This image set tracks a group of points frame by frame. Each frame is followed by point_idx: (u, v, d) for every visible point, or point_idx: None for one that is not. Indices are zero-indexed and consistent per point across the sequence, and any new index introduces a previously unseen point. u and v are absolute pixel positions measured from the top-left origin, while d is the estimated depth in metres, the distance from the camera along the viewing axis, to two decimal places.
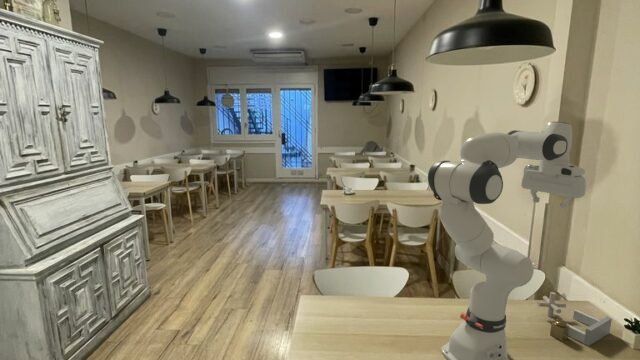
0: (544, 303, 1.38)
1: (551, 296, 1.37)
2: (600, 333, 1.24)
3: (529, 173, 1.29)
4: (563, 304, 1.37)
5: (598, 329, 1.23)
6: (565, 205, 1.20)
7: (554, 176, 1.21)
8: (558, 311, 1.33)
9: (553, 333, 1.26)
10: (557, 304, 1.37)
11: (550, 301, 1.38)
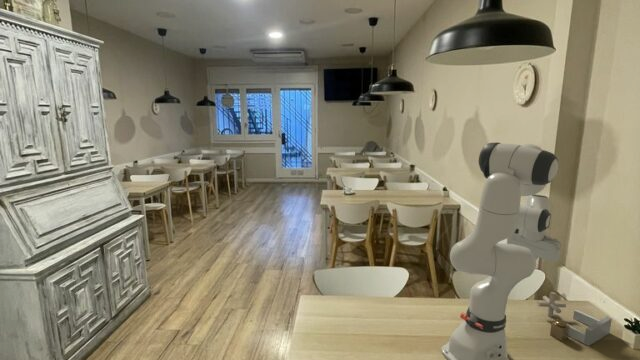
0: (544, 303, 1.38)
1: (551, 296, 1.37)
2: (600, 333, 1.24)
3: None
4: (563, 304, 1.37)
5: (598, 329, 1.23)
6: None
7: None
8: (558, 311, 1.33)
9: (553, 333, 1.26)
10: (557, 304, 1.37)
11: (550, 301, 1.38)
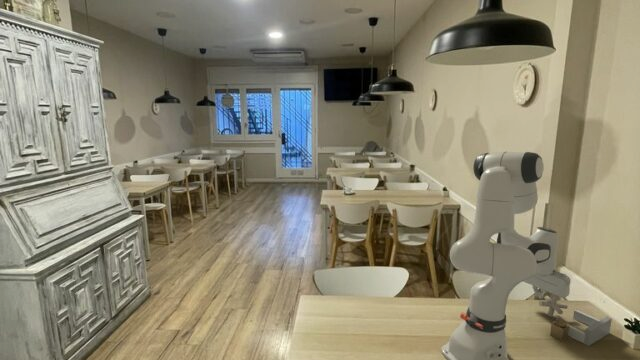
0: (546, 303, 1.38)
1: (554, 297, 1.37)
2: (600, 333, 1.24)
3: None
4: (565, 305, 1.37)
5: (598, 329, 1.23)
6: None
7: None
8: (560, 312, 1.33)
9: (553, 333, 1.26)
10: (559, 305, 1.37)
11: (552, 301, 1.37)
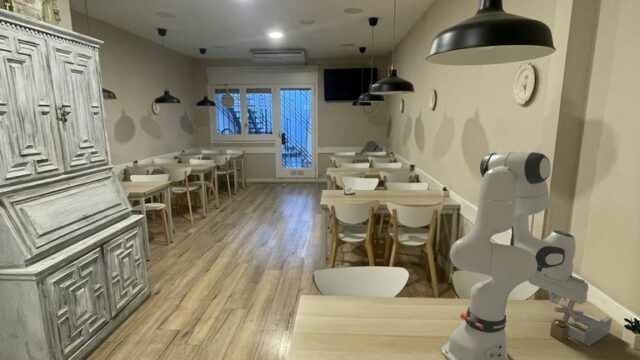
0: (562, 309, 1.33)
1: (570, 303, 1.32)
2: (600, 333, 1.24)
3: None
4: (581, 312, 1.33)
5: (598, 329, 1.23)
6: None
7: None
8: (576, 319, 1.29)
9: (553, 333, 1.26)
10: (575, 311, 1.33)
11: (568, 308, 1.33)
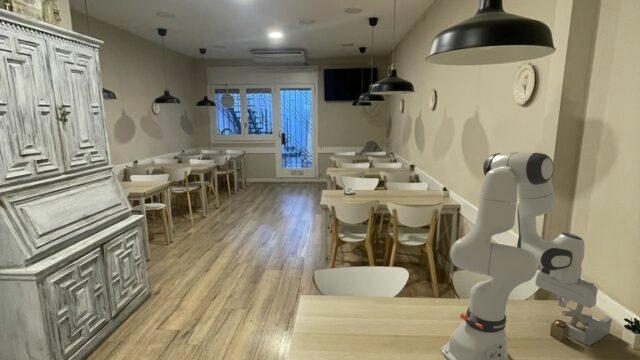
0: (570, 313, 1.30)
1: (579, 307, 1.29)
2: (600, 333, 1.24)
3: None
4: (589, 316, 1.30)
5: (598, 329, 1.23)
6: None
7: None
8: (585, 324, 1.26)
9: (553, 333, 1.26)
10: (583, 315, 1.30)
11: (576, 311, 1.30)
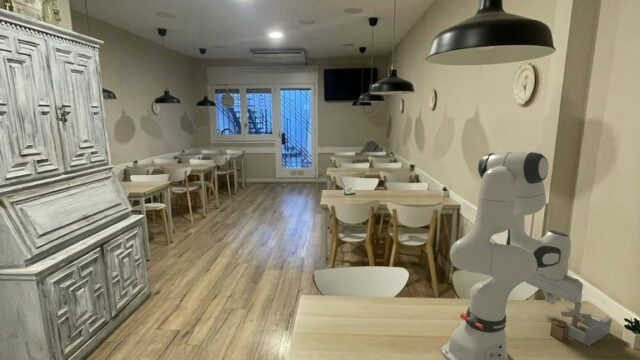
0: (568, 313, 1.31)
1: (576, 306, 1.30)
2: (600, 333, 1.24)
3: None
4: (588, 315, 1.30)
5: (598, 329, 1.23)
6: None
7: None
8: (584, 322, 1.26)
9: (553, 333, 1.26)
10: (582, 314, 1.30)
11: (575, 311, 1.31)
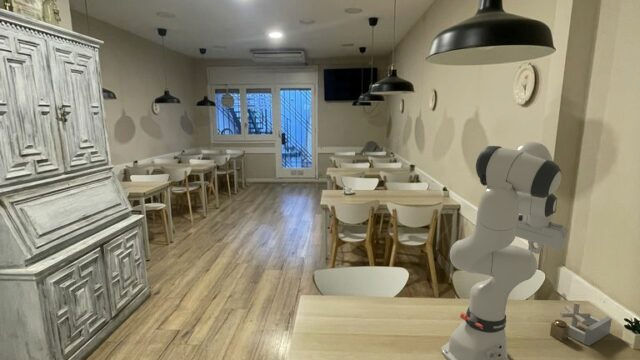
0: (568, 314, 1.31)
1: (575, 306, 1.30)
2: (600, 333, 1.24)
3: None
4: (587, 314, 1.30)
5: (598, 329, 1.23)
6: None
7: None
8: (584, 322, 1.26)
9: (553, 333, 1.26)
10: (581, 314, 1.30)
11: (574, 311, 1.31)
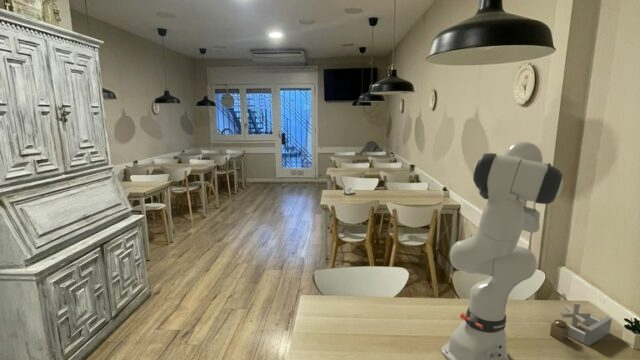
0: (568, 314, 1.31)
1: (575, 306, 1.30)
2: (600, 333, 1.24)
3: None
4: (587, 314, 1.30)
5: (598, 329, 1.23)
6: None
7: None
8: (584, 322, 1.26)
9: (553, 333, 1.26)
10: (581, 314, 1.30)
11: (574, 311, 1.30)
